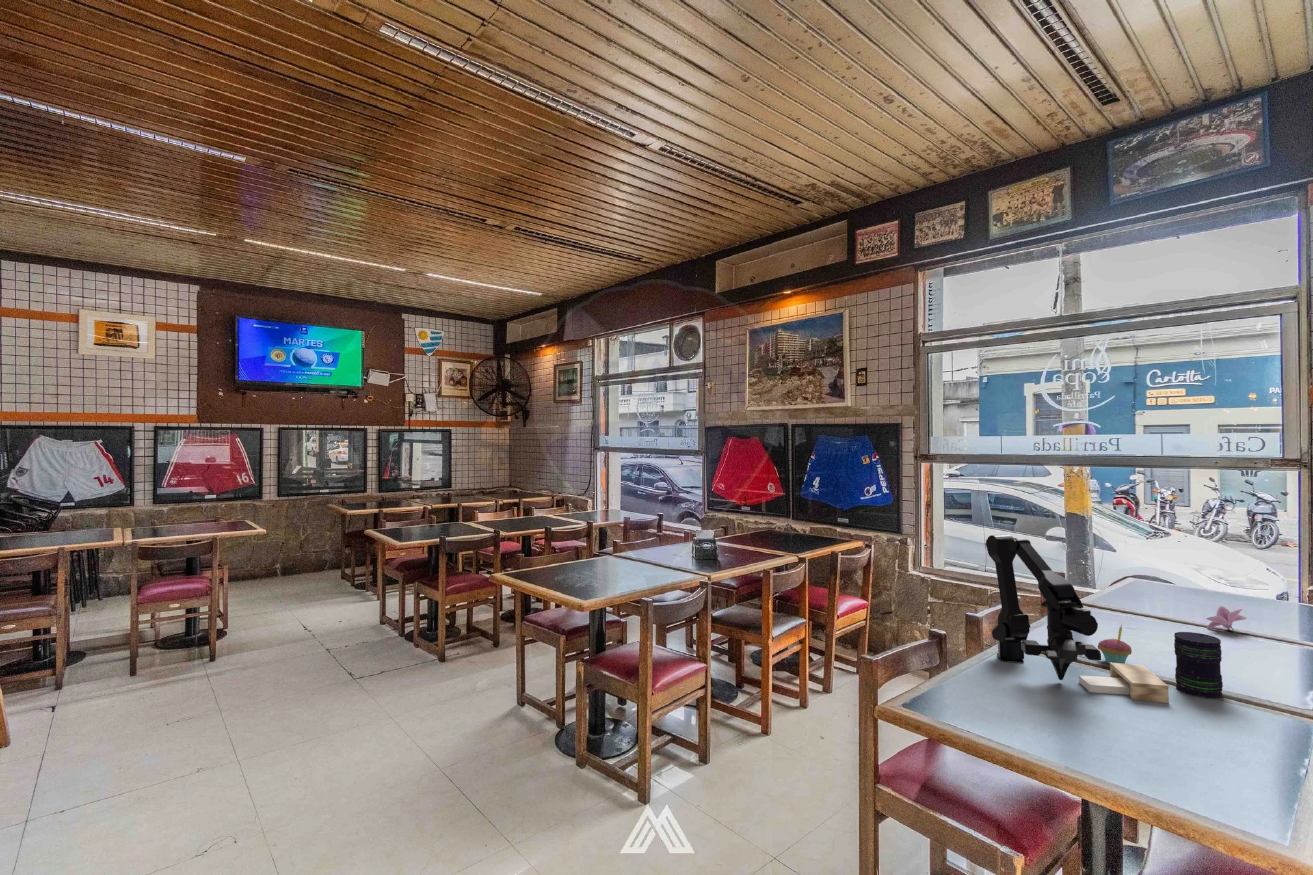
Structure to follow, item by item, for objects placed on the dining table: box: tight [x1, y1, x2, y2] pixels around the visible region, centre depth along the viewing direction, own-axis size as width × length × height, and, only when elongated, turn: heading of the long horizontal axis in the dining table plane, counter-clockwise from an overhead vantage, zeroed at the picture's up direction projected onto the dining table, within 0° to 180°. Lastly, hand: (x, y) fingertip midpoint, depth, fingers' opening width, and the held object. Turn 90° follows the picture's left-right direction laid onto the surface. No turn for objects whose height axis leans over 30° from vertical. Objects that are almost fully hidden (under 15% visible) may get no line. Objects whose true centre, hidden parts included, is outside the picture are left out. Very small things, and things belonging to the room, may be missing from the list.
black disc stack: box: [1173, 631, 1224, 700], centre depth 169 cm, size 10×10×15 cm
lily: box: [1205, 605, 1248, 636], centre depth 219 cm, size 12×12×10 cm
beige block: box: [1109, 663, 1170, 704], centre depth 171 cm, size 8×16×4 cm, turn 161°
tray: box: [1078, 675, 1130, 696], centre depth 172 cm, size 16×7×2 cm, turn 76°
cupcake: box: [1097, 624, 1133, 664], centre depth 193 cm, size 9×8×12 cm
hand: (1060, 679), depth 177 cm, fingers closed
